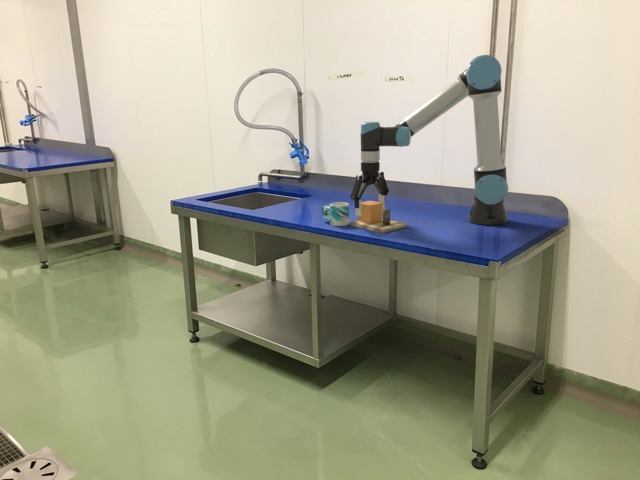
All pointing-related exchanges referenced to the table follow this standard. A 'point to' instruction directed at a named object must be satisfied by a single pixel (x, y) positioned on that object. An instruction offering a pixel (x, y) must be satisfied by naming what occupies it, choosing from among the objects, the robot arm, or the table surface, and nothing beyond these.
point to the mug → (337, 213)
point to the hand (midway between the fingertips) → (370, 213)
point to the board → (381, 224)
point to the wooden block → (371, 212)
